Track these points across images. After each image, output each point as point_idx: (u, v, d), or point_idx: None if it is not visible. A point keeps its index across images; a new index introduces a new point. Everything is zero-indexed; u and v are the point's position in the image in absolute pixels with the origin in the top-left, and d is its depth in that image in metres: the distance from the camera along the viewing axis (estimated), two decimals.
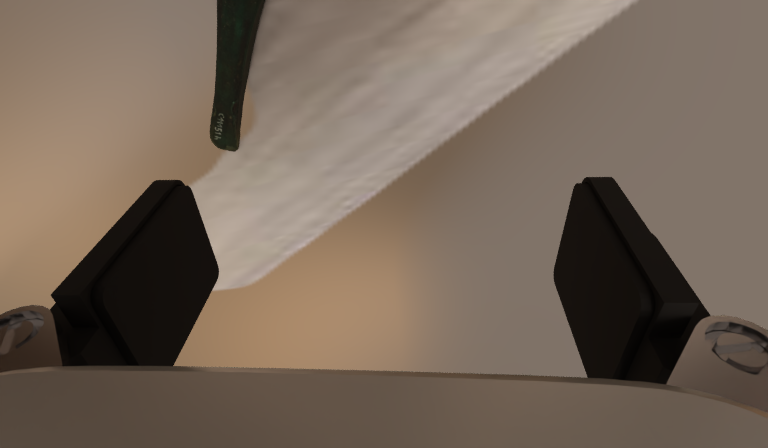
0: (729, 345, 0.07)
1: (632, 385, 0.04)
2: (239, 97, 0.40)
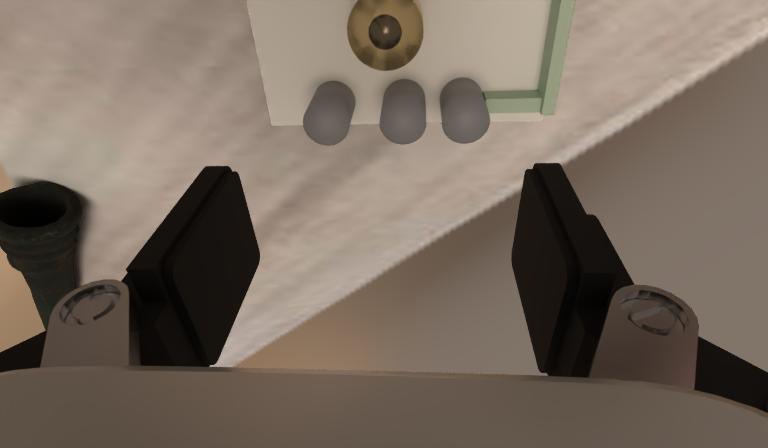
0: (641, 311, 0.07)
1: (632, 385, 0.04)
2: None
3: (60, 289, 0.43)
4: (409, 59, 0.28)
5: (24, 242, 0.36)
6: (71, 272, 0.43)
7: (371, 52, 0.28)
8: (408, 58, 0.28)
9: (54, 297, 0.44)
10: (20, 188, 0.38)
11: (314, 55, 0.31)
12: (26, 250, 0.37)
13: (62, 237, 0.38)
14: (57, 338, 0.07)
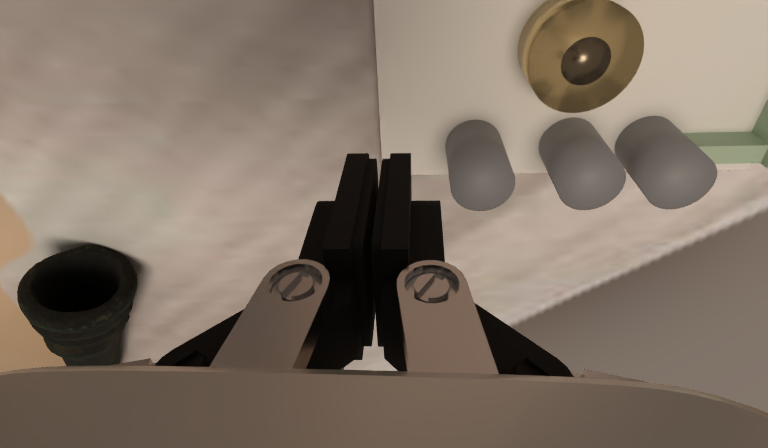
0: (423, 287, 0.08)
1: (632, 385, 0.04)
2: None
3: None
4: (610, 98, 0.20)
5: (72, 331, 0.28)
6: (117, 346, 0.36)
7: (557, 88, 0.20)
8: (609, 96, 0.20)
9: None
10: (61, 256, 0.30)
11: (457, 87, 0.23)
12: (72, 337, 0.29)
13: (115, 317, 0.31)
14: (280, 313, 0.07)
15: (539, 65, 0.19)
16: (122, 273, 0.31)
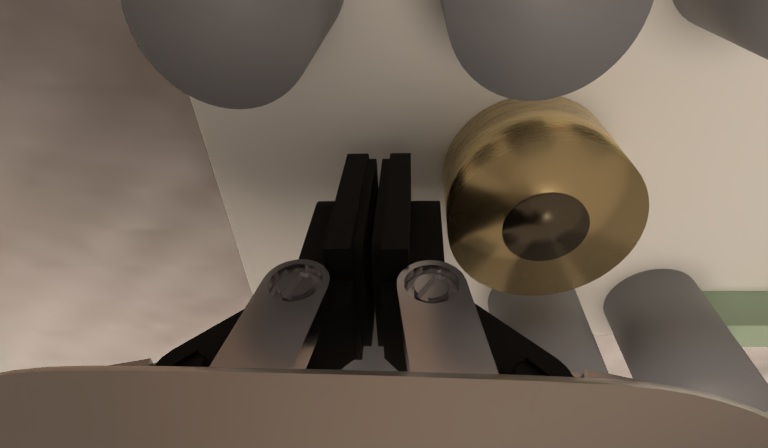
0: (423, 287, 0.08)
1: (632, 385, 0.04)
2: None
3: None
4: (592, 278, 0.12)
5: None
6: None
7: (500, 263, 0.11)
8: (590, 276, 0.12)
9: None
10: None
11: None
12: None
13: None
14: (280, 313, 0.07)
15: (464, 231, 0.11)
16: None
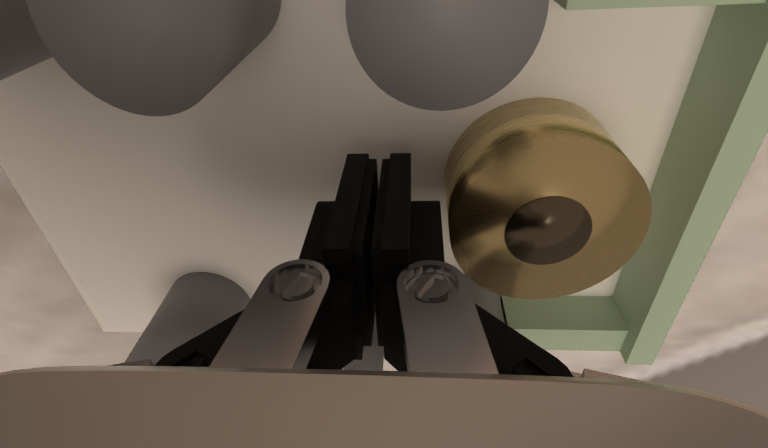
0: (423, 287, 0.08)
1: (632, 385, 0.04)
2: None
3: None
4: (593, 282, 0.12)
5: None
6: None
7: (502, 266, 0.11)
8: (591, 280, 0.12)
9: None
10: None
11: (154, 232, 0.15)
12: None
13: None
14: (280, 313, 0.07)
15: (466, 234, 0.11)
16: None
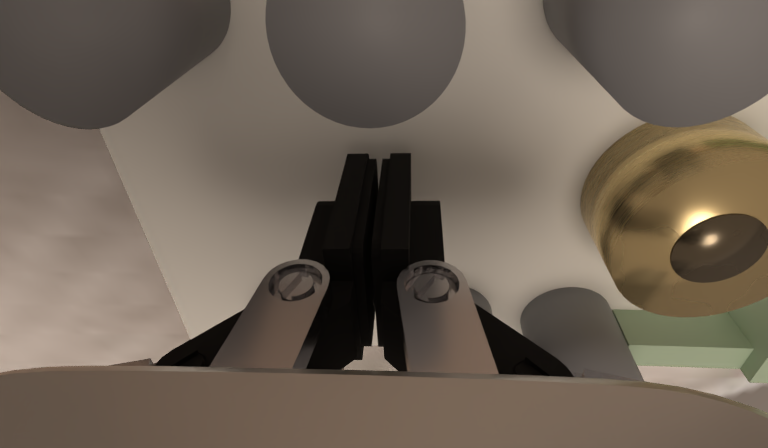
0: (423, 287, 0.08)
1: (632, 385, 0.04)
2: None
3: None
4: (751, 301, 0.11)
5: None
6: None
7: (659, 283, 0.11)
8: (749, 299, 0.11)
9: None
10: None
11: (264, 240, 0.14)
12: None
13: None
14: (280, 313, 0.07)
15: (631, 250, 0.11)
16: None
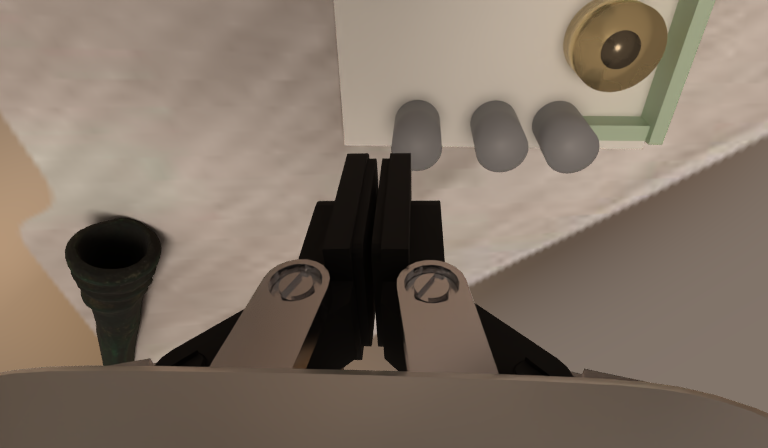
0: (423, 287, 0.08)
1: (632, 385, 0.04)
2: None
3: (128, 326, 0.42)
4: (638, 80, 0.25)
5: (108, 284, 0.34)
6: (140, 308, 0.42)
7: (596, 71, 0.25)
8: (637, 79, 0.25)
9: (121, 334, 0.42)
10: (100, 225, 0.37)
11: (401, 72, 0.28)
12: (107, 291, 0.35)
13: (142, 277, 0.37)
14: (280, 313, 0.07)
15: (583, 51, 0.24)
16: (149, 241, 0.37)
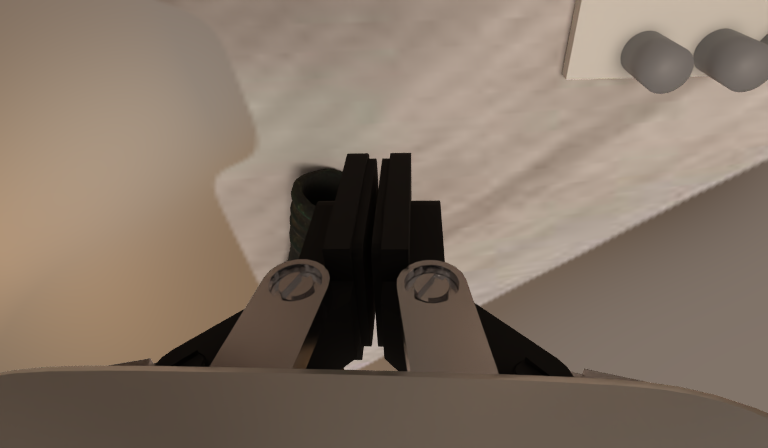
0: (423, 287, 0.08)
1: (632, 385, 0.04)
2: None
3: None
4: None
5: None
6: None
7: None
8: None
9: None
10: (313, 174, 0.39)
11: (641, 3, 0.30)
12: None
13: None
14: (280, 313, 0.07)
15: None
16: None
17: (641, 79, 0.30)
